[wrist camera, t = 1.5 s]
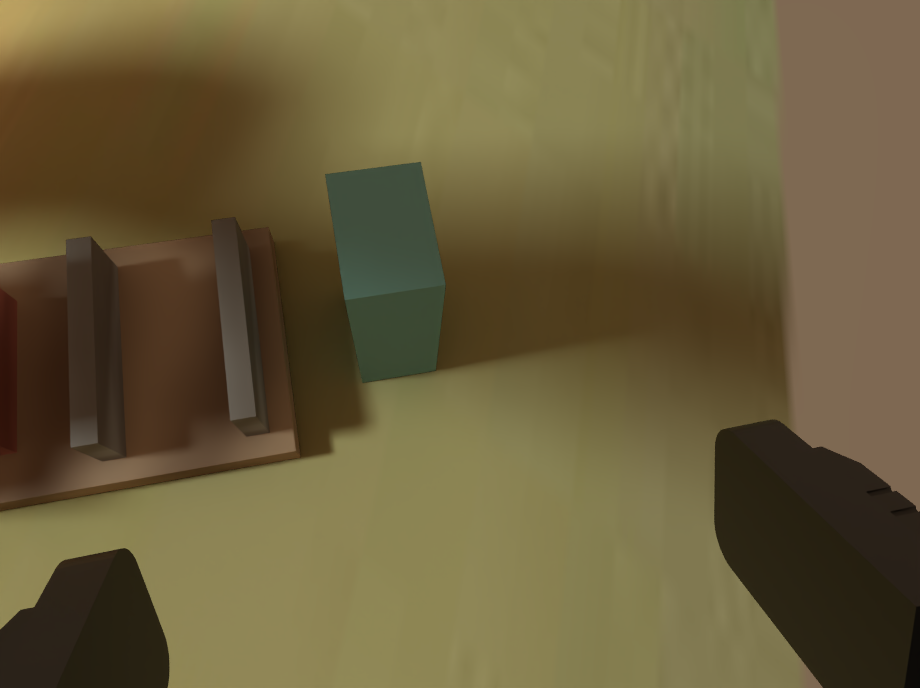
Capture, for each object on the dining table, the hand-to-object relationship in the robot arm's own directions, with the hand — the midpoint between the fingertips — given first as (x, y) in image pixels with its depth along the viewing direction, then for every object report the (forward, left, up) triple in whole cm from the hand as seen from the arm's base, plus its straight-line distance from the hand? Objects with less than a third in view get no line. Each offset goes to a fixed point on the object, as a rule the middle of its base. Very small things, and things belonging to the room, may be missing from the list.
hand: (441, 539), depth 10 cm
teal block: (-9, +7, -23) cm, 25 cm away
